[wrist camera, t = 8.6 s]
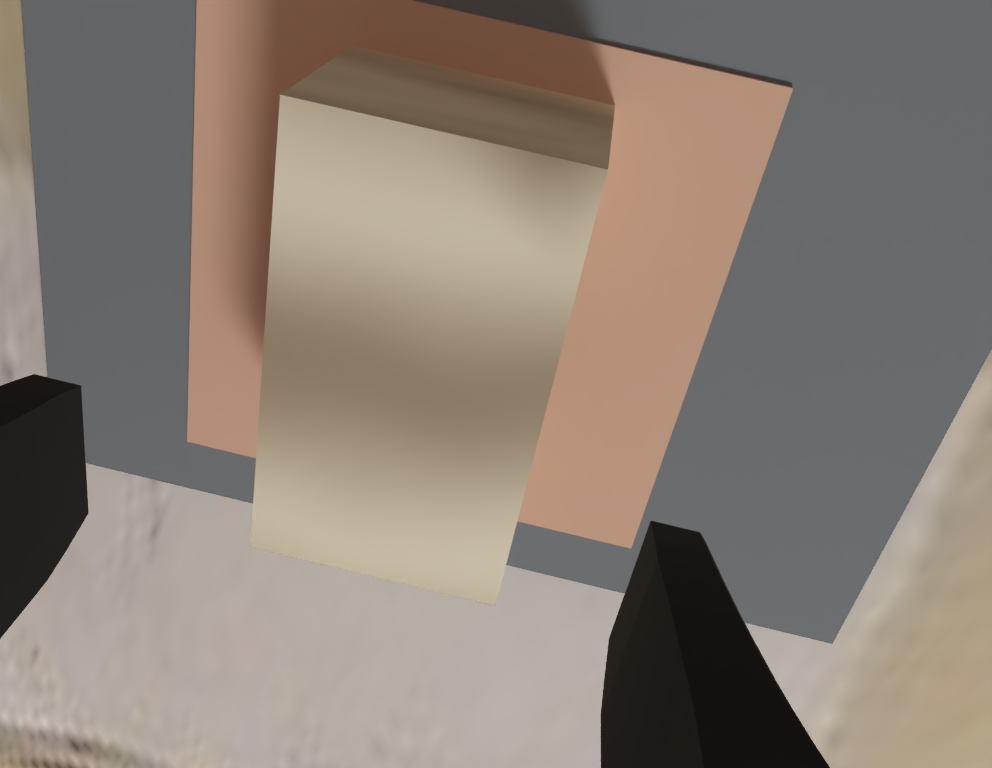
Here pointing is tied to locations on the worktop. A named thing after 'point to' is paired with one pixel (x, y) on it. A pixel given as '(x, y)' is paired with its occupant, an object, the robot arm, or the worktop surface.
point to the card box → (417, 313)
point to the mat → (607, 267)
